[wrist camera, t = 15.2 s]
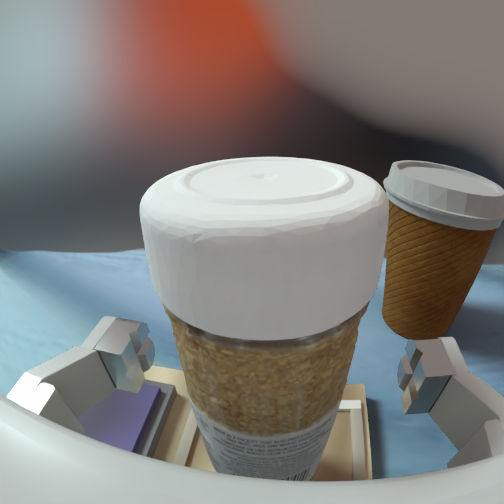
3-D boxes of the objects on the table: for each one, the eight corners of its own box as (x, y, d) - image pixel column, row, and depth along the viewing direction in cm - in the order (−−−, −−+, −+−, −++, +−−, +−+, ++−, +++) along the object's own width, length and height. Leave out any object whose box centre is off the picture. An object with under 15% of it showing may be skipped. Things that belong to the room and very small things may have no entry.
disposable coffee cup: (419, 376, 18) (477, 206, 12) (341, 304, 25) (357, 161, 20) (482, 325, 21) (526, 193, 15) (412, 275, 29) (433, 158, 23)
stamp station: (1, 480, 9) (-22, 461, 8) (78, 358, 20) (66, 334, 19) (363, 580, 7) (380, 578, 5) (359, 395, 17) (368, 371, 16)
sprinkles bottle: (319, 443, 13) (375, 158, 7) (304, 523, 9) (424, 237, 3) (231, 429, 14) (197, 151, 8) (203, 503, 10) (78, 212, 4)
